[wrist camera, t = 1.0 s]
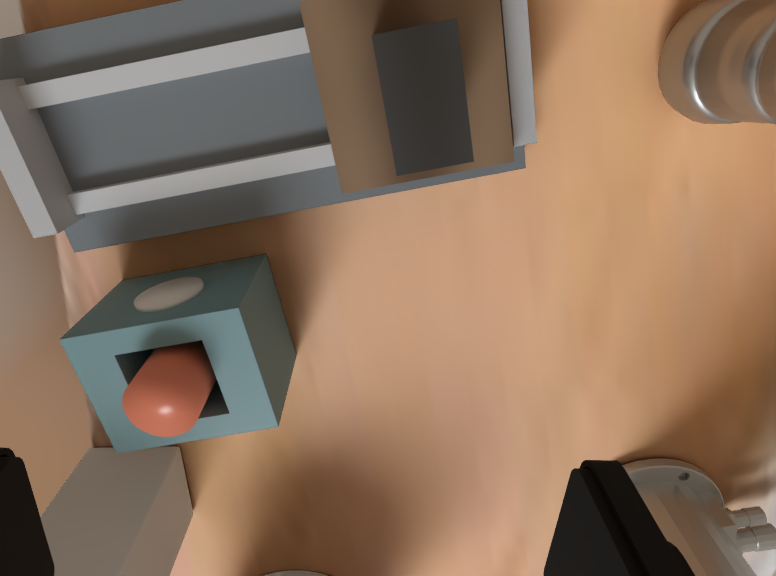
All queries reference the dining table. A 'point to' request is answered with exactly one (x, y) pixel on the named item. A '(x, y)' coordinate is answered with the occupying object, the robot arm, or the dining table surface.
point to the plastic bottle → (722, 62)
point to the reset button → (170, 389)
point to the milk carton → (120, 514)
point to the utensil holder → (295, 573)
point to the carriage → (410, 87)
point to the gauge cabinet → (182, 325)
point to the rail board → (188, 120)
